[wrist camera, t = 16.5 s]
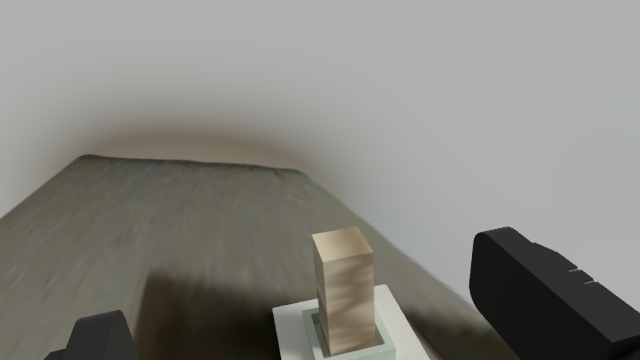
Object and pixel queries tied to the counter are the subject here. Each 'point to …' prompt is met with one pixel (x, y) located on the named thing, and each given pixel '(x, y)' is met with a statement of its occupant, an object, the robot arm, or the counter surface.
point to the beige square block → (345, 290)
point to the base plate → (386, 356)
